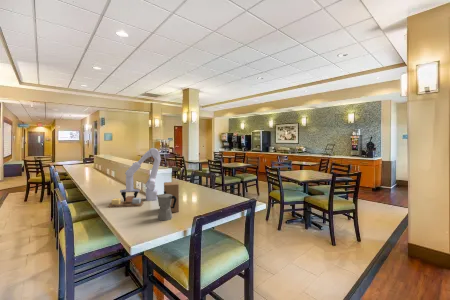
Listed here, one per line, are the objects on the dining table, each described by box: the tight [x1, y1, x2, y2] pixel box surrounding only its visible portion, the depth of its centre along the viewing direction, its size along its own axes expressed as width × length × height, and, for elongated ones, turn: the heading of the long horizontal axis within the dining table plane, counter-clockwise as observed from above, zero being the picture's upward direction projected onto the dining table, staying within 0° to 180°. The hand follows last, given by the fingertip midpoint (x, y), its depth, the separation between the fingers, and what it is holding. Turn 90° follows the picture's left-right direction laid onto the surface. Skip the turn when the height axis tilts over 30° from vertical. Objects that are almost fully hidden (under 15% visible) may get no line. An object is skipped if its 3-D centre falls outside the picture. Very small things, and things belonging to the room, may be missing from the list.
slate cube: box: [132, 197, 142, 204], centre depth 173 cm, size 5×5×5 cm
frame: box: [108, 200, 144, 209], centre depth 172 cm, size 23×8×3 cm, turn 98°
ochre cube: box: [111, 197, 122, 205], centre depth 170 cm, size 5×5×5 cm
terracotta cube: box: [125, 195, 134, 202], centre depth 181 cm, size 5×5×5 cm
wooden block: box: [163, 181, 180, 214], centre depth 161 cm, size 10×10×20 cm
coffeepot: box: [156, 190, 177, 222], centre depth 145 cm, size 15×9×18 cm, turn 69°
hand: (129, 201), depth 181 cm, fingers open, 7 cm apart
